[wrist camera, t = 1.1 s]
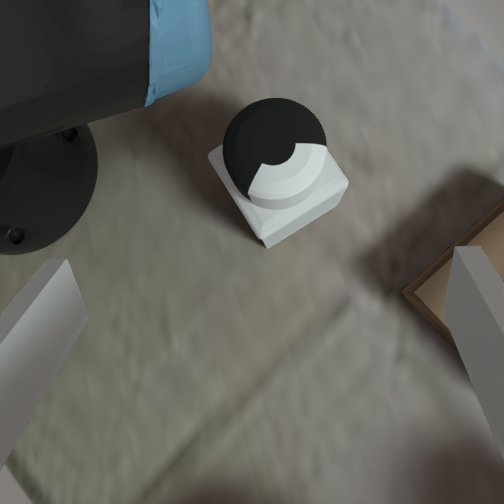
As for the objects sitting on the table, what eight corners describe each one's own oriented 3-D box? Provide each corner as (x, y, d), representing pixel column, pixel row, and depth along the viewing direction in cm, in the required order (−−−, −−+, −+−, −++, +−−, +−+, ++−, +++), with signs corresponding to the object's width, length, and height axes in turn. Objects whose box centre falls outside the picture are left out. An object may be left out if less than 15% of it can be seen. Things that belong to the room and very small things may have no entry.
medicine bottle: (221, 179, 37) (187, 126, 25) (293, 134, 37) (293, 59, 25) (266, 250, 36) (252, 230, 24) (339, 204, 36) (363, 161, 24)
